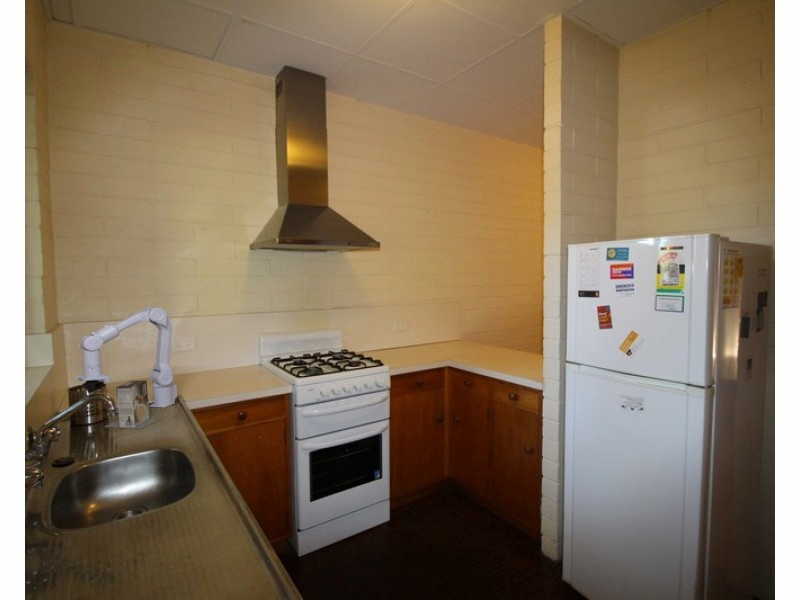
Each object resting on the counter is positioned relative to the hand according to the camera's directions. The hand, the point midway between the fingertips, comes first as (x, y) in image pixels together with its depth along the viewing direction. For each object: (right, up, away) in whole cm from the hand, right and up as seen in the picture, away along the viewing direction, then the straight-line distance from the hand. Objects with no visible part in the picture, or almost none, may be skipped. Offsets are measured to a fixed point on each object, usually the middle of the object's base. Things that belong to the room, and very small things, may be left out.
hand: (95, 398), depth 165 cm
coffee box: (+17, -9, -2) cm, 20 cm away
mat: (+16, -9, -2) cm, 19 cm away
